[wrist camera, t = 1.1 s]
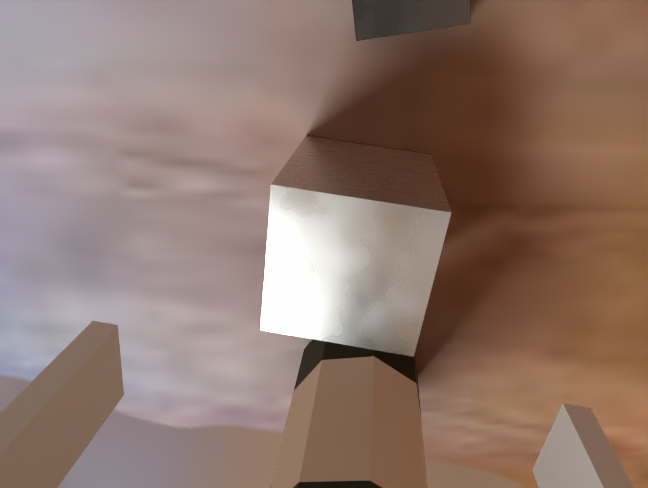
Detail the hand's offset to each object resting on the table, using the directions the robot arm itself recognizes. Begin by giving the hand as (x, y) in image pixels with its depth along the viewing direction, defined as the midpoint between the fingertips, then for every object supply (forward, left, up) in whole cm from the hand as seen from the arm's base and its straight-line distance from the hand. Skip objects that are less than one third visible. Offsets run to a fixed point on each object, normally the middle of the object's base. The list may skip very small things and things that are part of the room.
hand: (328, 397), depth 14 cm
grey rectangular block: (0, 0, -16) cm, 16 cm away
